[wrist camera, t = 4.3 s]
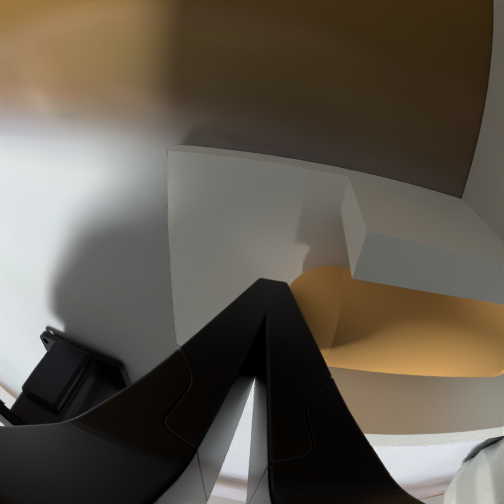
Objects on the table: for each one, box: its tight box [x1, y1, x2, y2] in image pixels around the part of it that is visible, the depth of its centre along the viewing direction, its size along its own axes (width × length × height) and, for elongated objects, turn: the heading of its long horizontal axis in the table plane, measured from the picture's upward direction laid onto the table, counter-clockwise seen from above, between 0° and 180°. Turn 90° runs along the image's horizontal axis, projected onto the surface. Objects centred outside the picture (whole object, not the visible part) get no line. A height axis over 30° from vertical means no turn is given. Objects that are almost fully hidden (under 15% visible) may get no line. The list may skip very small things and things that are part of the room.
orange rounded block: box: [289, 266, 504, 377], centre depth 8 cm, size 3×9×3 cm, turn 83°
